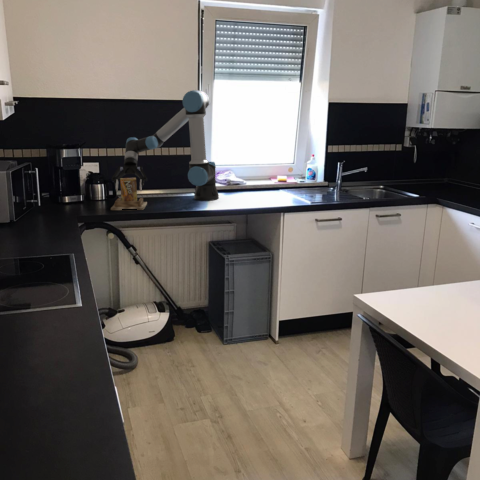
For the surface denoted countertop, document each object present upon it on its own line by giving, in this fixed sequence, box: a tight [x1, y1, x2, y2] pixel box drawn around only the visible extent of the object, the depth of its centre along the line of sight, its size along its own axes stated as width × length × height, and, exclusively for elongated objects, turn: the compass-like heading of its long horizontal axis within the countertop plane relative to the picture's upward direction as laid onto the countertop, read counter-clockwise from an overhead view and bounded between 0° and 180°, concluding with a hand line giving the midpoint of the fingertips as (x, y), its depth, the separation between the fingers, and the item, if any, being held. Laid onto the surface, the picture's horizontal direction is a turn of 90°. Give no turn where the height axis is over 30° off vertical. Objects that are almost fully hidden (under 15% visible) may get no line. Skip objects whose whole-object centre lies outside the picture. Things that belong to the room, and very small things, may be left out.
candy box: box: [119, 177, 138, 201], centre depth 304 cm, size 9×4×15 cm, turn 102°
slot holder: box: [110, 197, 148, 211], centre depth 306 cm, size 18×18×4 cm
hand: (128, 190), depth 304 cm, fingers open, 13 cm apart
